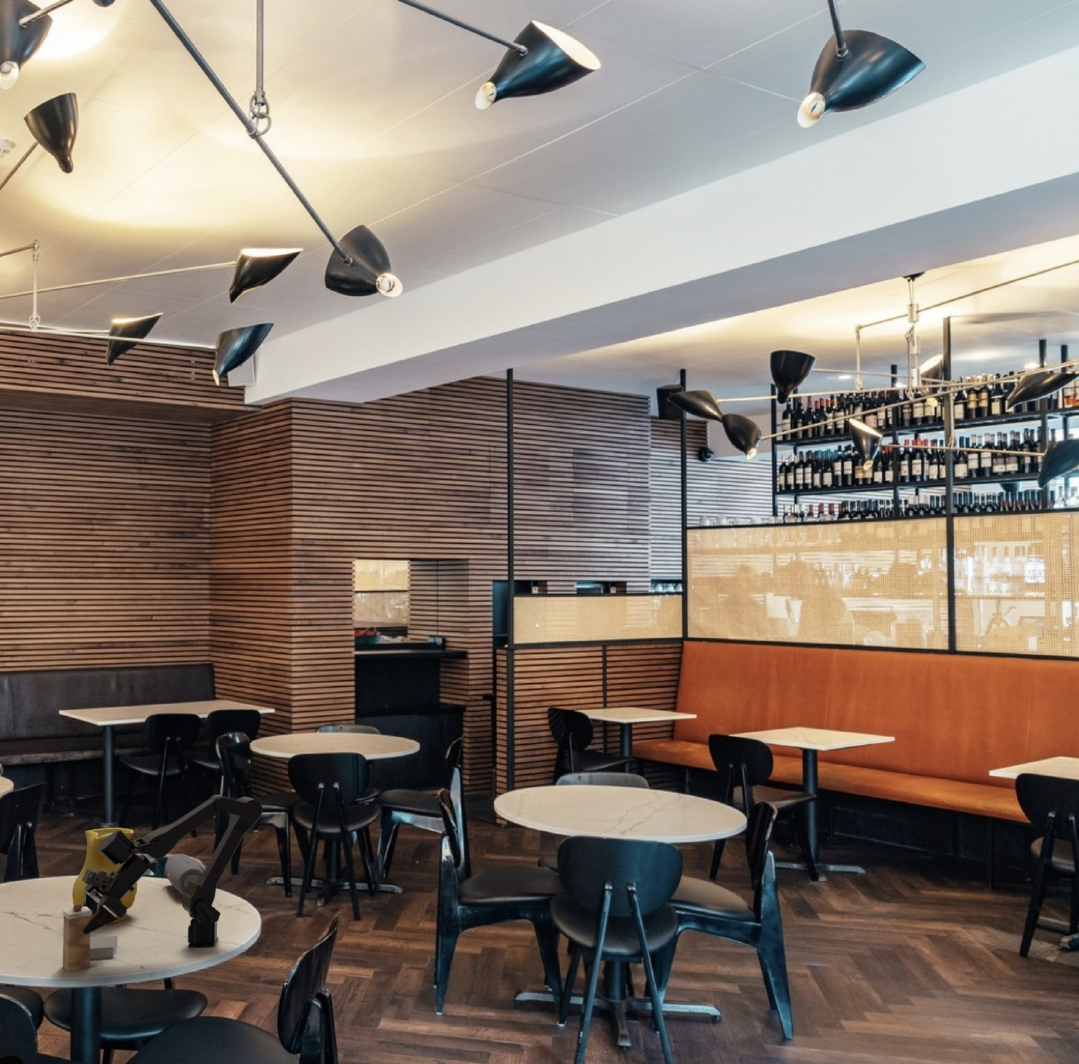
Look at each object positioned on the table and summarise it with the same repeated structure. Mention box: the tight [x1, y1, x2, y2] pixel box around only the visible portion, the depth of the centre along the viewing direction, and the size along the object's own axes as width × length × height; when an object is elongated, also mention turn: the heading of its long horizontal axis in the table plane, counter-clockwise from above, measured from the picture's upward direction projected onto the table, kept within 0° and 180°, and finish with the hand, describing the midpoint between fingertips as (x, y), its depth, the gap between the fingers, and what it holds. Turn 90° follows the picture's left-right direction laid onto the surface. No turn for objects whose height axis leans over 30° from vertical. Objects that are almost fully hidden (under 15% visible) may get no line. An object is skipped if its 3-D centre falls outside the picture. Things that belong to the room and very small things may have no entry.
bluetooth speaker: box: [164, 853, 204, 896], centre depth 339 cm, size 23×9×10 cm, turn 28°
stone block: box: [90, 935, 119, 960], centre depth 279 cm, size 10×10×3 cm
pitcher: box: [71, 827, 138, 925], centre depth 311 cm, size 17×18×25 cm
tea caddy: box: [62, 903, 92, 973], centre depth 268 cm, size 5×5×15 cm
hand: (79, 928), depth 269 cm, fingers open, 9 cm apart
